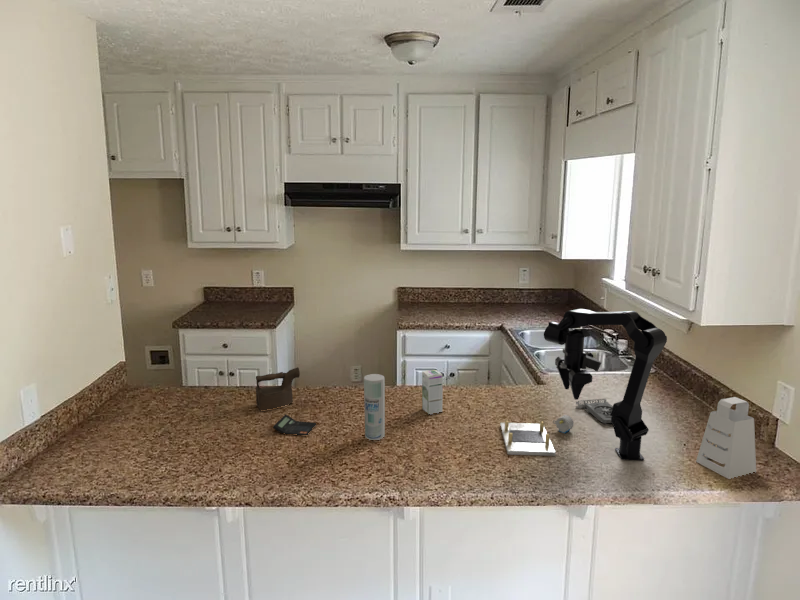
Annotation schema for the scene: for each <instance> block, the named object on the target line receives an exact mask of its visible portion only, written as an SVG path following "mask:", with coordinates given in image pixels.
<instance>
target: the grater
mask: <svg viewBox="0 0 800 600" xmlns="http://www.w3.org/2000/svg"><path fill="white" fill-rule="evenodd" d="M733 405H735V409H732V406H733ZM749 409H750V404H749V402H748V401H746V400H744V399H741V398H739V397H737V396H733V397H727V398H721V399H719V401H718V403H717V408H716V410H714V411H710V414H709V416H708V420H707V423H706V427H705V430H704V434H703V436H702V439H701V443H700V446H699V450H698V454H697V456H696V460H695V462H696V463H698V464H700V465H701V466H703V467H705V468H707V469H709V470H711V471H713V472H715V473H717V474H718V475H720V476H722V477H724V478H726V479H728V480H731V478H732V479H735V478H734V477H736V478H739V477H738V476H740V477H743V476H742V475H744V476H747V475H746V474H748V475H750V474H749V473H751V474H754V473H753V472H755V473H757V461H756V460H757V459H756V457H757V456H756V435H755V431H756V430H755V418H754V417H752V416H750V415H749ZM709 459H711V460H713V461H715V462H717V463H719V464H717V463H715V462H713V461H711V460H709ZM720 464H721V465H724V466H721V465H720Z"/></svg>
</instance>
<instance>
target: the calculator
mask: <svg viewBox="0 0 800 600" xmlns="http://www.w3.org/2000/svg"><path fill="white" fill-rule="evenodd" d="M316 423H317V422H311V421H310V422H309V421H300V420H299V421H298V420H295V419H294V418H292V417H290V416H289V415H288V414H284V415H283V416H282V417H281V418H280V419H279V420H278V421H277V422H276V423H275V424H274V425H273V427H272V429H274V430H275V431H277V432H279V433H281V434H282V433H285V434H297V435H308V436H309V434H310V433H311V432H312V431H313V430H312V428H313V427H314V426H315V425H316ZM316 426H317V425H316ZM316 426H315V427H316ZM315 427H314V428H315ZM311 430H312V431H311ZM310 431H311V432H310ZM309 432H310V433H309ZM308 433H309V434H308ZM285 434H284V435H285Z"/></svg>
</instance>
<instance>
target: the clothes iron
mask: <svg viewBox="0 0 800 600" xmlns="http://www.w3.org/2000/svg"><path fill="white" fill-rule="evenodd" d="M300 371H301V370H300V368H299V367H298V366H297V367H295V368H291V369H289V370H288V371H287V372H283V371H281V372H278V373H267V374H264V375H256V376H255V382H256V387H255V397H256V399H255V403H256V407H258V409H259V411H260V410H267V409H273V408H277V407H281V406H285V405H288V404H290V403H292V402H293V403H294V399H293V398H294V397H293V389H292V387H293V386H292V385H293V381H294V379H296V378H297V379H299V378H300V375H301V373H300ZM277 379H282V381H281V385H273V386H264V387H260V385H259V383H261V382H264V381H266V382H267V381H268V382H270V381H273V380H277ZM293 403H292V404H293ZM290 405H291V404H290ZM288 406H289V405H288Z"/></svg>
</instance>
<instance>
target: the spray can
mask: <svg viewBox="0 0 800 600" xmlns="http://www.w3.org/2000/svg"><path fill="white" fill-rule="evenodd" d="M385 380H386V379H385V376H384V375H382V374H378V373H371V374H367V375H366V374H365V375H364V376H363V395H364V396H363V401H364V402H363V403H364V437H365V439H366V438H367V439H369V440H368V441H370V440H379V441H381V440H380V439H382V438H383V437H384V438H385V423H386V421H385V419H386V417H385V411H386V410H385V401H386V400H385V398H386V397H385V392H386V390H385V388H386V387H385V386H386V385H385V382H386V381H385ZM384 438H383V439H384ZM367 439H366V440H367ZM383 439H382V440H383Z"/></svg>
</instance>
